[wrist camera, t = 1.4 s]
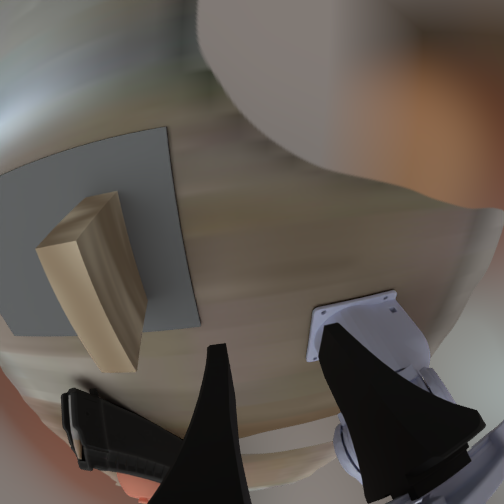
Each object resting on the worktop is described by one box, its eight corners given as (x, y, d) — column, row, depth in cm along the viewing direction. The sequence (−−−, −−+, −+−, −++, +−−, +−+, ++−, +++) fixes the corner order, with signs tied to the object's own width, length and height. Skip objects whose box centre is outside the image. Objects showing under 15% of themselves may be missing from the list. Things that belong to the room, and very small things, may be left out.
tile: (117, 190, 16) (75, 240, 10) (147, 300, 20) (136, 372, 14) (84, 197, 15) (35, 248, 9) (119, 303, 20) (101, 372, 14)
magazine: (221, 493, 34) (95, 523, 11) (206, 495, 34) (77, 517, 11) (199, 414, 45) (74, 376, 23) (185, 418, 45) (59, 380, 23)
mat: (166, 126, 15) (165, 126, 14) (200, 324, 23) (200, 326, 23) (-46, 199, 12) (-47, 200, 12) (15, 333, 20) (14, 335, 20)
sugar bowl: (116, 456, 40) (116, 496, 31) (178, 465, 44) (182, 504, 35) (117, 467, 44) (117, 500, 36) (171, 475, 49) (173, 508, 40)
